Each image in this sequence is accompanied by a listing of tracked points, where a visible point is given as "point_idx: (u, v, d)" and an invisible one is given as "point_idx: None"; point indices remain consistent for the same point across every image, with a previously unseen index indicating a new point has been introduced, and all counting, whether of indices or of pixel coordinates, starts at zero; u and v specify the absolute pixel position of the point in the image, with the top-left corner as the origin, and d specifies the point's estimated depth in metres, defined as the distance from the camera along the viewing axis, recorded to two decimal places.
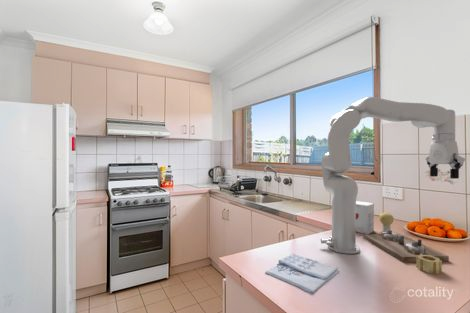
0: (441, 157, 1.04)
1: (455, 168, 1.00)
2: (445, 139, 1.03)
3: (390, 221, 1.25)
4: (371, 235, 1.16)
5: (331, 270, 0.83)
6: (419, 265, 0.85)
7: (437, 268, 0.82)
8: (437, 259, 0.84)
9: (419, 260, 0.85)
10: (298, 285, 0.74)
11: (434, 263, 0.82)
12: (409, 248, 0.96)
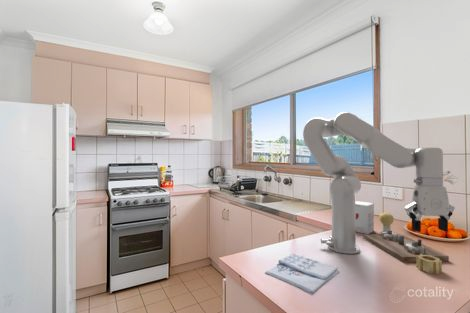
0: (441, 207, 0.83)
1: None
2: None
3: (390, 221, 1.25)
4: (371, 235, 1.16)
5: (331, 270, 0.83)
6: (419, 265, 0.85)
7: (437, 268, 0.82)
8: (437, 259, 0.84)
9: (419, 260, 0.85)
10: (298, 285, 0.74)
11: (434, 263, 0.82)
12: (409, 248, 0.96)
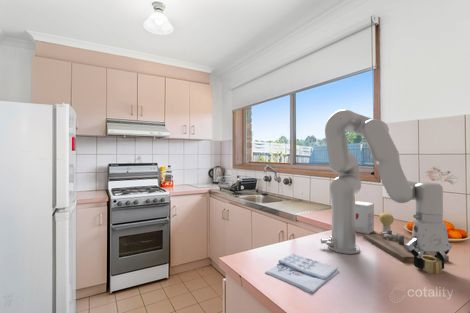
0: (440, 243, 0.83)
1: None
2: None
3: (390, 221, 1.25)
4: (371, 235, 1.16)
5: (331, 270, 0.83)
6: None
7: (437, 268, 0.82)
8: (437, 259, 0.84)
9: None
10: (298, 285, 0.74)
11: (434, 263, 0.82)
12: None
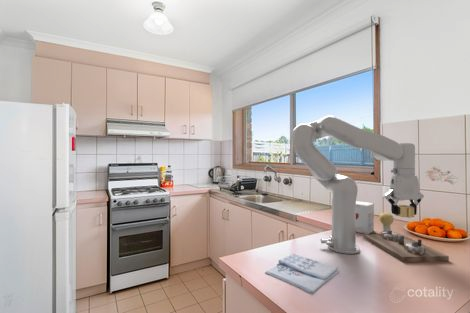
0: (413, 192, 0.99)
1: None
2: (414, 174, 1.00)
3: (390, 221, 1.25)
4: (371, 235, 1.16)
5: (331, 270, 0.83)
6: None
7: (410, 213, 0.99)
8: (411, 207, 1.01)
9: None
10: (298, 285, 0.74)
11: (407, 209, 0.99)
12: (409, 248, 0.96)
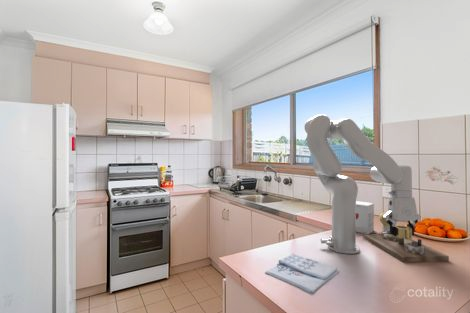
0: (410, 214, 1.02)
1: None
2: None
3: None
4: (371, 235, 1.16)
5: (331, 270, 0.83)
6: None
7: (408, 234, 1.01)
8: (408, 228, 1.03)
9: None
10: (298, 285, 0.74)
11: (405, 230, 1.01)
12: (409, 248, 0.96)
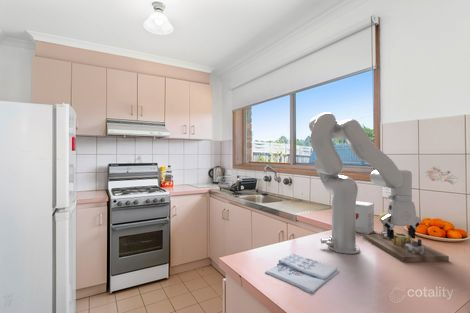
0: (410, 219, 1.02)
1: None
2: (411, 200, 1.02)
3: None
4: (371, 235, 1.16)
5: (331, 270, 0.83)
6: (393, 240, 1.04)
7: (407, 242, 1.01)
8: (407, 235, 1.03)
9: None
10: (298, 285, 0.74)
11: (404, 238, 1.02)
12: (409, 248, 0.96)
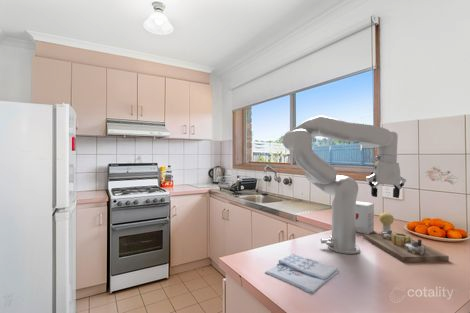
0: (393, 178, 1.06)
1: None
2: (396, 161, 1.06)
3: (390, 221, 1.25)
4: (371, 235, 1.16)
5: (331, 270, 0.83)
6: (393, 240, 1.04)
7: (407, 242, 1.01)
8: (407, 235, 1.03)
9: (393, 236, 1.04)
10: (298, 285, 0.74)
11: (404, 238, 1.02)
12: (409, 248, 0.96)
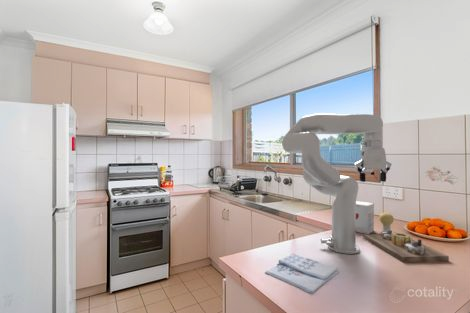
0: (380, 163, 1.10)
1: None
2: None
3: (390, 221, 1.25)
4: (371, 235, 1.16)
5: (331, 270, 0.83)
6: (393, 240, 1.04)
7: (407, 242, 1.01)
8: (407, 235, 1.03)
9: (393, 236, 1.04)
10: (298, 285, 0.74)
11: (404, 238, 1.02)
12: (409, 248, 0.96)
